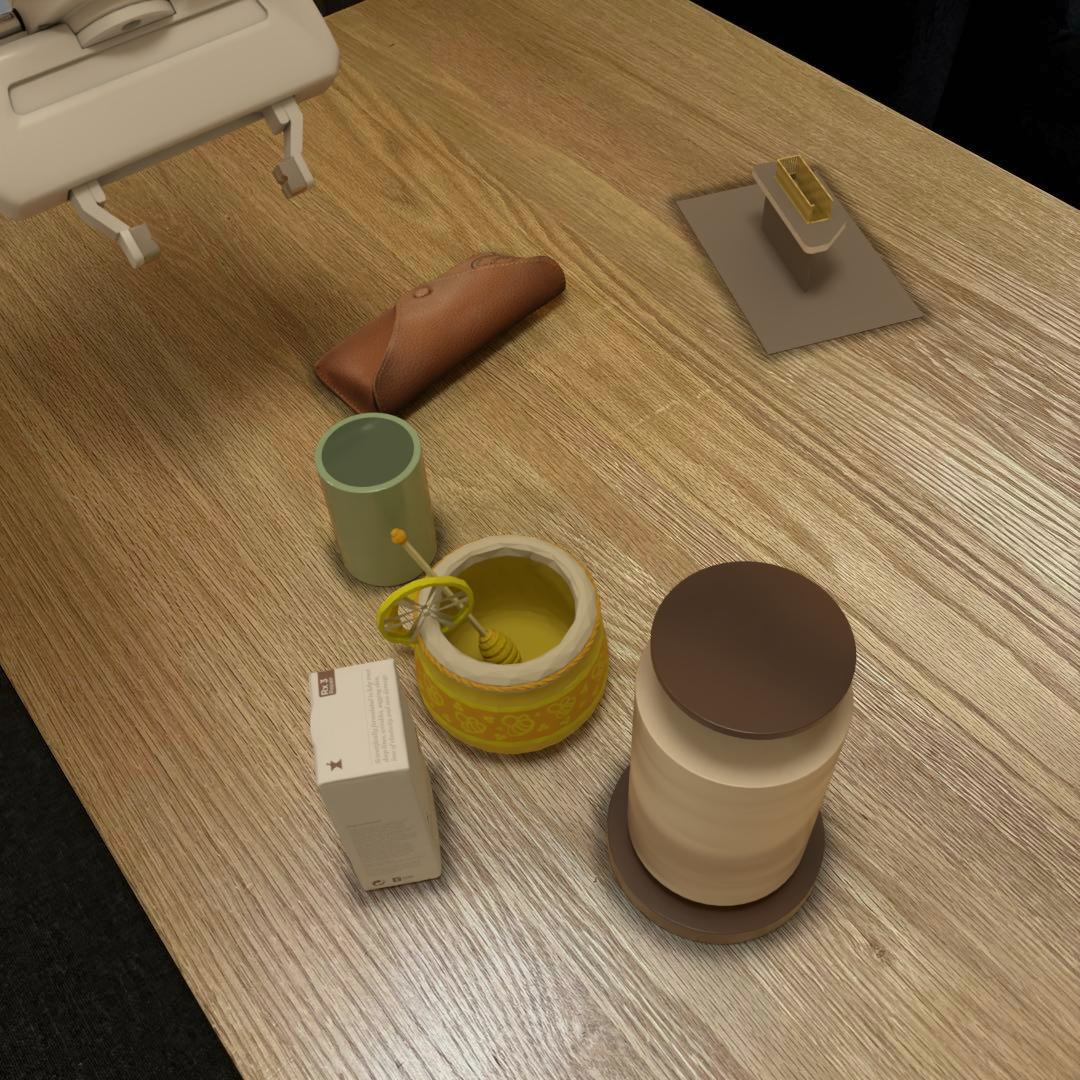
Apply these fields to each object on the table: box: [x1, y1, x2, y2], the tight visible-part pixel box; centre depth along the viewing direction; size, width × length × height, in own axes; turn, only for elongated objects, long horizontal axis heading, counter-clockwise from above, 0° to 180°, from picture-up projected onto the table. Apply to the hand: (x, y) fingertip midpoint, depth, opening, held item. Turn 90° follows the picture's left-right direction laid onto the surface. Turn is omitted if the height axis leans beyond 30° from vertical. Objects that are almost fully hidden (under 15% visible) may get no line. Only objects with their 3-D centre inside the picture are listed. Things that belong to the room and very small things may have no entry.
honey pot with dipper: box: [375, 529, 610, 755], centre depth 63 cm, size 13×11×12 cm
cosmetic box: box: [308, 657, 442, 891], centre depth 58 cm, size 6×4×12 cm
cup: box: [314, 413, 438, 587], centre depth 70 cm, size 6×6×9 cm
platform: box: [675, 153, 925, 355], centre depth 86 cm, size 12×18×7 cm, turn 17°
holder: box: [606, 560, 858, 945], centre depth 54 cm, size 11×11×19 cm
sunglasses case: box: [312, 251, 567, 417], centre depth 84 cm, size 18×7×7 cm
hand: (226, 226), depth 65 cm, fingers open, 8 cm apart
